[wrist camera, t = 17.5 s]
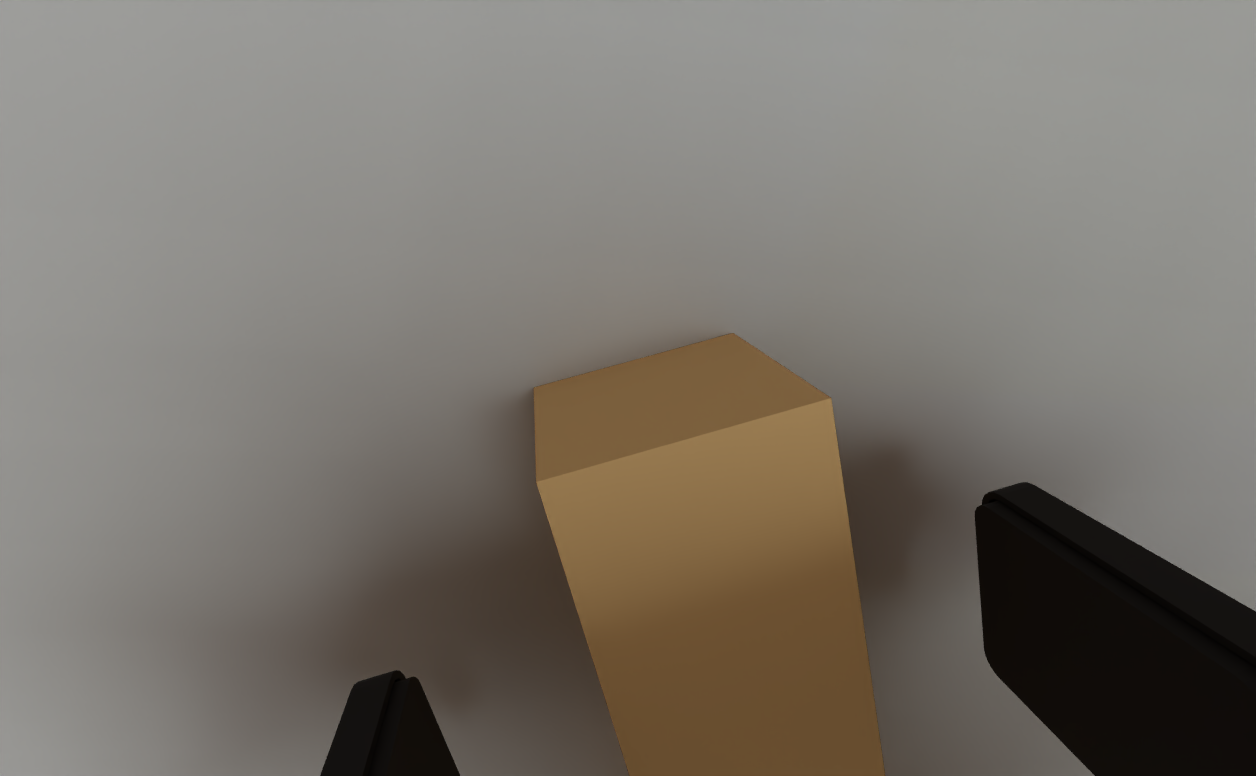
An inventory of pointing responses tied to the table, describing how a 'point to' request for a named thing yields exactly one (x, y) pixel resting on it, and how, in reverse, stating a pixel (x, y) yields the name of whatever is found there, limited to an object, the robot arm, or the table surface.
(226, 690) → the table surface
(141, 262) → the table surface
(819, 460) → the plug
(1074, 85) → the table surface
